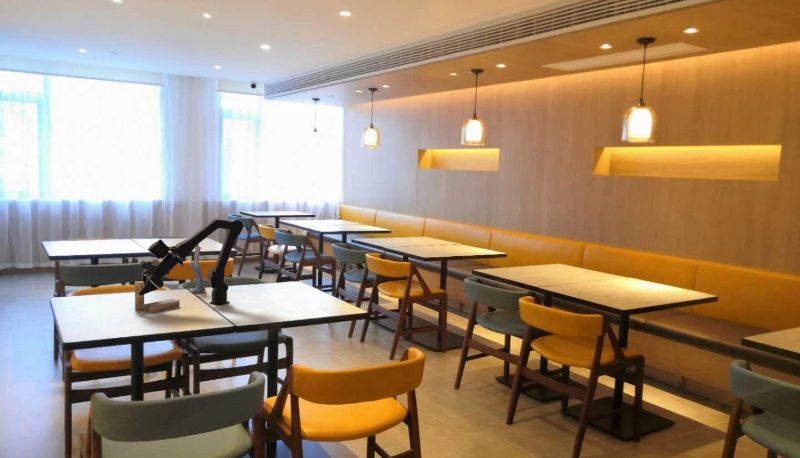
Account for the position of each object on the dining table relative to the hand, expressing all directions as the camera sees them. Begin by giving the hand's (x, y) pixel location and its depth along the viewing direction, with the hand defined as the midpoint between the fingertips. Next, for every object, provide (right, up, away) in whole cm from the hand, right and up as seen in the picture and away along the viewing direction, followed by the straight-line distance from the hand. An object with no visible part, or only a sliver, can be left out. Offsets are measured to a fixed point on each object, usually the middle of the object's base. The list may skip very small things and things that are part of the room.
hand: (137, 293), depth 244 cm
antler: (+10, -4, +43) cm, 44 cm away
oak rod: (0, -7, +1) cm, 7 cm away
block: (+9, -7, +4) cm, 12 cm away
